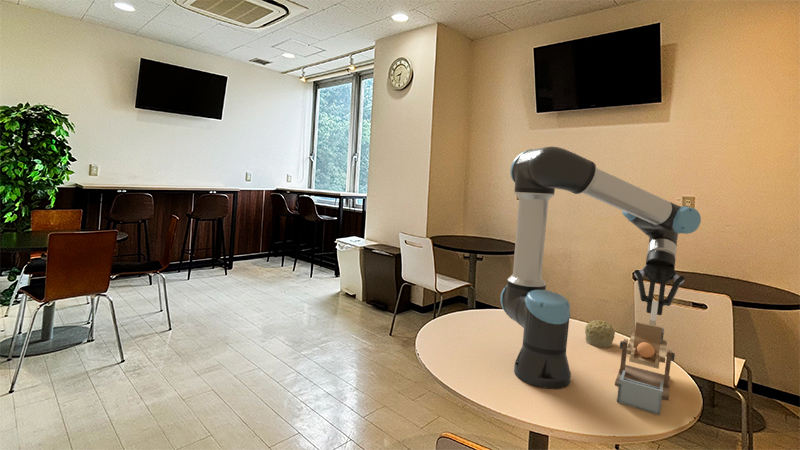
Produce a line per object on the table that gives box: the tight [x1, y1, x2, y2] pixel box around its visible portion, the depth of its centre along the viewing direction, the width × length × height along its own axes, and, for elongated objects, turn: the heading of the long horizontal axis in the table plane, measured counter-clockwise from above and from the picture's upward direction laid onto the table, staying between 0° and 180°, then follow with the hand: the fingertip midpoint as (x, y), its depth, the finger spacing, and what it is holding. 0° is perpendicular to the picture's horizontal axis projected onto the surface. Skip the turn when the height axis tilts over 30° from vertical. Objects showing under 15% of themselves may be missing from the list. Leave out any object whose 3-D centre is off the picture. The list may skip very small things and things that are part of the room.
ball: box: [637, 342, 655, 358], centre depth 106 cm, size 4×4×4 cm
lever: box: [626, 321, 668, 370], centre depth 113 cm, size 22×9×9 cm, turn 145°
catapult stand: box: [614, 338, 676, 401], centre depth 112 cm, size 15×13×10 cm
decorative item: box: [584, 319, 616, 349], centre depth 141 cm, size 10×10×10 cm
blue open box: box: [616, 370, 663, 416], centre depth 102 cm, size 9×9×6 cm
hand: (652, 323), depth 112 cm, fingers closed
